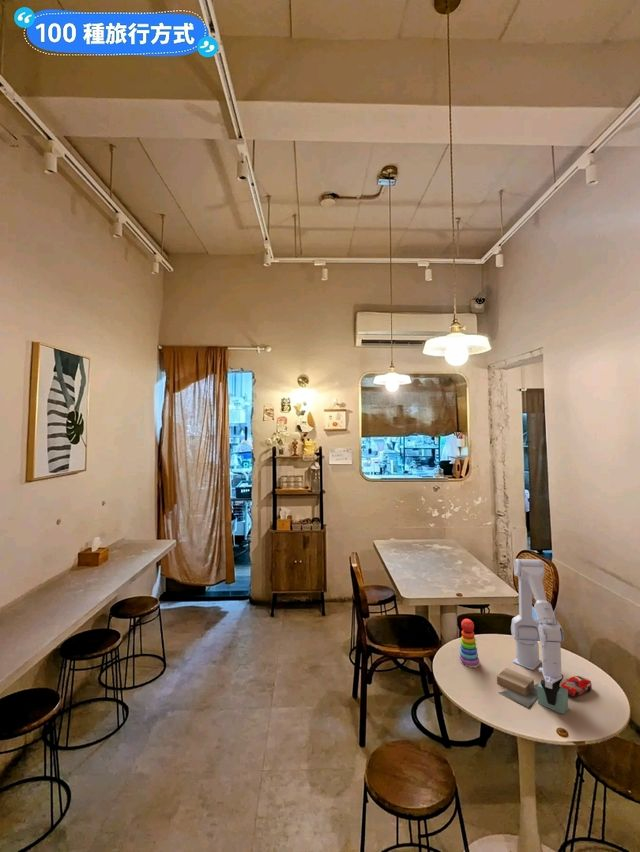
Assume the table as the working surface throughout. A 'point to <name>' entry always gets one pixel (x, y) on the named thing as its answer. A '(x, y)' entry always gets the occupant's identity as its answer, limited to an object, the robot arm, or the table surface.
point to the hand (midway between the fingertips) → (552, 699)
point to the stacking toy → (468, 644)
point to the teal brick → (561, 699)
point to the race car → (577, 685)
